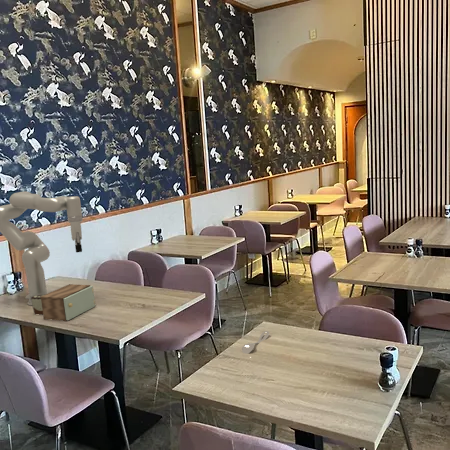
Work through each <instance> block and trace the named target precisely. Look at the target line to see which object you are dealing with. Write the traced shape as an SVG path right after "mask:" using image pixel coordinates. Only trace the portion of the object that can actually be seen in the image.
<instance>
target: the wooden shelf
mask: <svg viewBox="0 0 450 450" xmlns="http://www.w3.org/2000/svg"><path fill="white" fill-rule="evenodd" d="M90 286H91V284H74V283H72V284H71V283H70V284H67V285H65V286H62V287H60V288H57V289H55V290H53V291H50V292H47V294H46V295H43V296H41V303H42V309H43V315H42V316H43V320H48V319H52V320H51V321H60V320H63V321H62V322H67V321H66V314H65V307H64V300H63V299H64V298H66V297H68V296H70V295H73V294H75V293H77V292H79V291H81V290H83V289H85V288H88V287H90Z"/></svg>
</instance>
